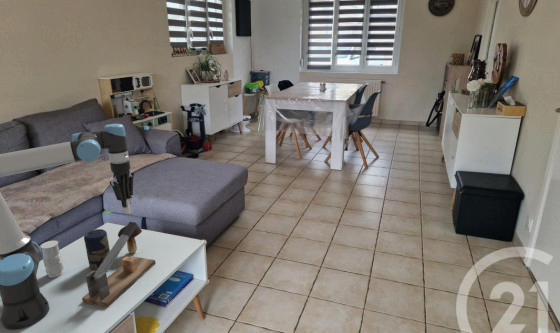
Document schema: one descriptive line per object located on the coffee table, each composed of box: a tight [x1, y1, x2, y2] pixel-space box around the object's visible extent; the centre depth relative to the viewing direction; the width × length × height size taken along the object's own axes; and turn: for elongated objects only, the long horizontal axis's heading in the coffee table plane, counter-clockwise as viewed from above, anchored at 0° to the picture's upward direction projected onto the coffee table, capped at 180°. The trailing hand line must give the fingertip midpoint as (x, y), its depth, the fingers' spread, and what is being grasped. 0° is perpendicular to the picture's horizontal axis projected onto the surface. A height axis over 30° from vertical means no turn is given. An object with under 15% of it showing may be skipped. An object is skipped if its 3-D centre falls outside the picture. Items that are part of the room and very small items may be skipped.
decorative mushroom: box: [117, 225, 143, 254], centre depth 181 cm, size 11×11×15 cm
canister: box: [83, 228, 111, 271], centre depth 169 cm, size 10×10×18 cm
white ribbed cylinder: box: [39, 240, 64, 279], centre depth 164 cm, size 7×7×15 cm
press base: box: [81, 256, 156, 308], centre depth 158 cm, size 12×32×12 cm, turn 164°
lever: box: [91, 221, 139, 281], centre depth 155 cm, size 4×29×2 cm, turn 164°
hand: (127, 212), depth 160 cm, fingers closed
